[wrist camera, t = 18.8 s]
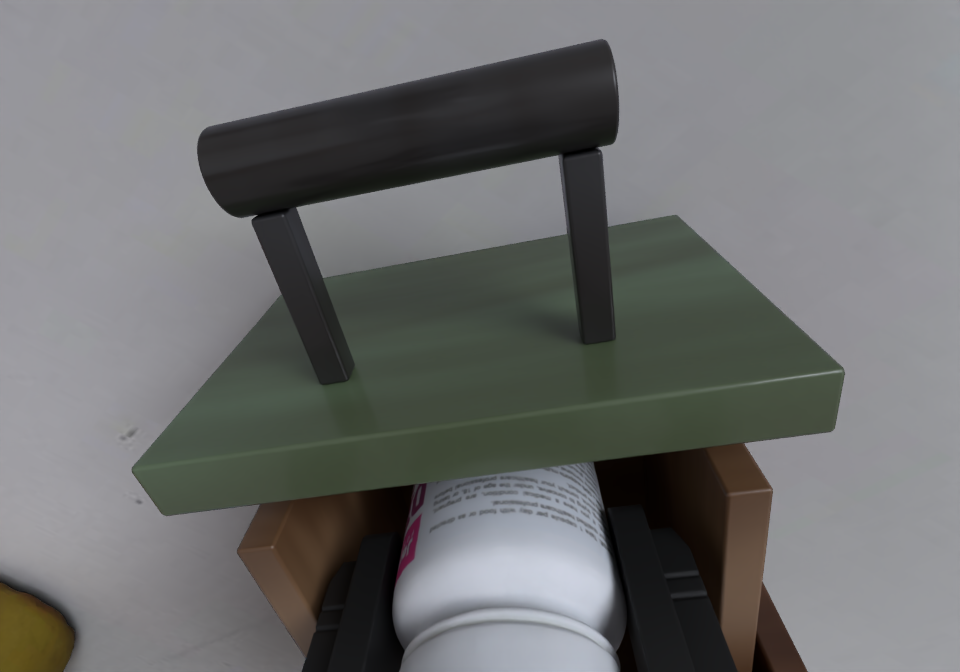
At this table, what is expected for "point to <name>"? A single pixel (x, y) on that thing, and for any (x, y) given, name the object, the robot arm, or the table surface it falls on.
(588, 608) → the pill bottle
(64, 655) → the mug
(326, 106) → the drawer
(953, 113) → the table surface
